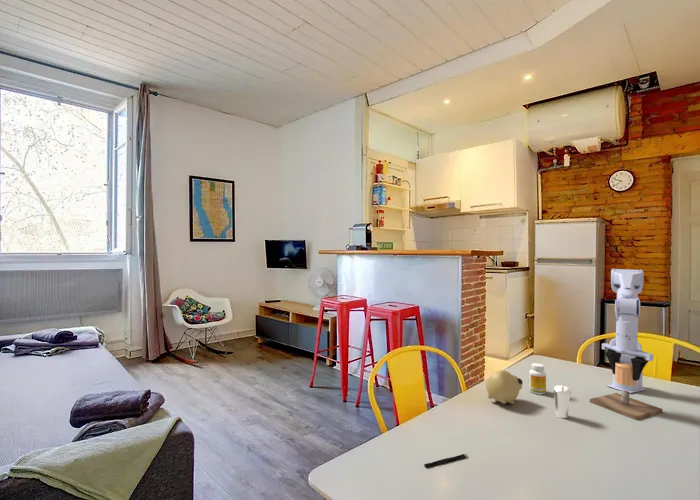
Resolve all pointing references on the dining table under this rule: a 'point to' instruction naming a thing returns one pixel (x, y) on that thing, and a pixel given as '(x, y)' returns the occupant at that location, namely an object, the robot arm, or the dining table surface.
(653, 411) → the post block
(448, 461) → the black stick
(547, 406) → the dining table surface
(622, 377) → the wire nut cap
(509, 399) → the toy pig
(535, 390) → the supplement bottle
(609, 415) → the dining table surface
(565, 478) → the dining table surface
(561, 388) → the milkshake
